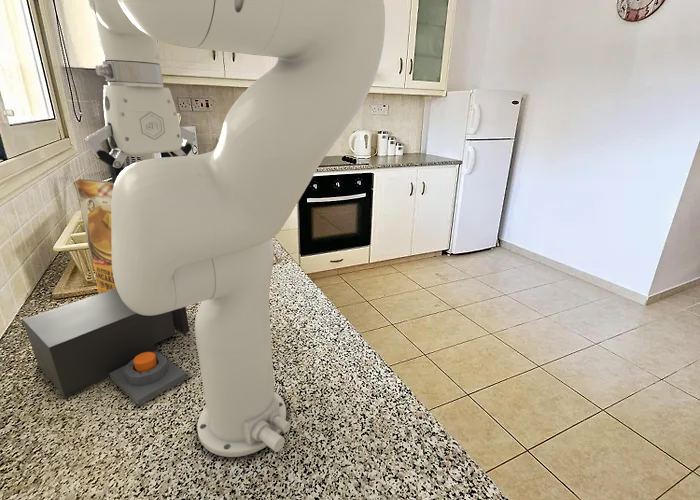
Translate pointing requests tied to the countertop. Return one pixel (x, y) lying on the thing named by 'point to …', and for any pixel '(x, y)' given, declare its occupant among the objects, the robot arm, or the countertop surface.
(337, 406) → the countertop surface
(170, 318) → the drawer
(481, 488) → the countertop surface
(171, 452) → the countertop surface
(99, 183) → the pancake mix bag
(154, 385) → the control pad
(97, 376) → the matte grey oblong box
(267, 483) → the countertop surface
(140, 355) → the button
